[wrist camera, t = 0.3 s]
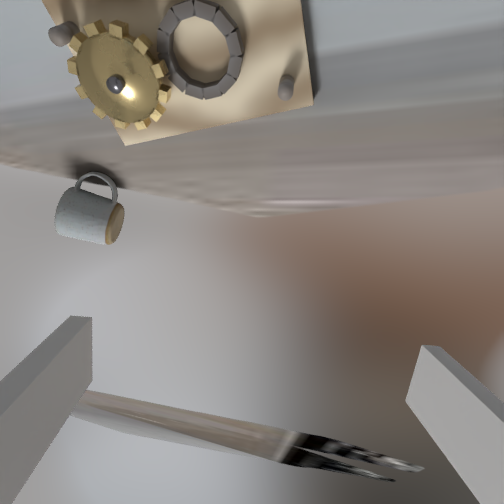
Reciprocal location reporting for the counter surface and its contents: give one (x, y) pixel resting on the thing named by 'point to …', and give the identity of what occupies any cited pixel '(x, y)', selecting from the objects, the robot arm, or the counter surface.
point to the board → (207, 56)
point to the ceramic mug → (89, 213)
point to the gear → (119, 74)
